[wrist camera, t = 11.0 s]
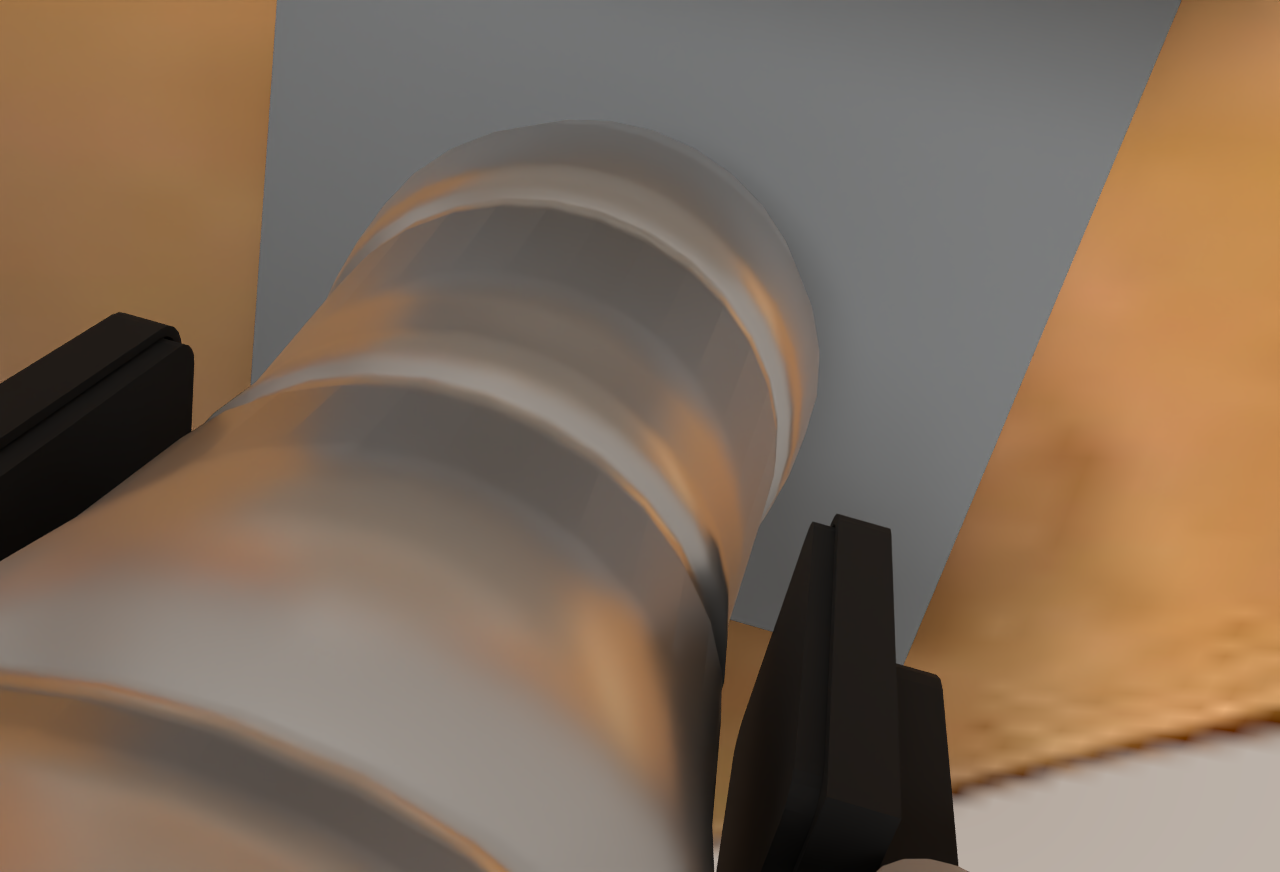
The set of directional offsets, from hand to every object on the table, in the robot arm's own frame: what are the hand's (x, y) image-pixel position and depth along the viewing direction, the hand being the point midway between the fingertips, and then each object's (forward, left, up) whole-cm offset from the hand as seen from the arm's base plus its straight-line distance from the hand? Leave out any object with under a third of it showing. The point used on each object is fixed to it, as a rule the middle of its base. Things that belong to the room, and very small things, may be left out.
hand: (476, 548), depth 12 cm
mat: (0, 0, -10) cm, 10 cm away
